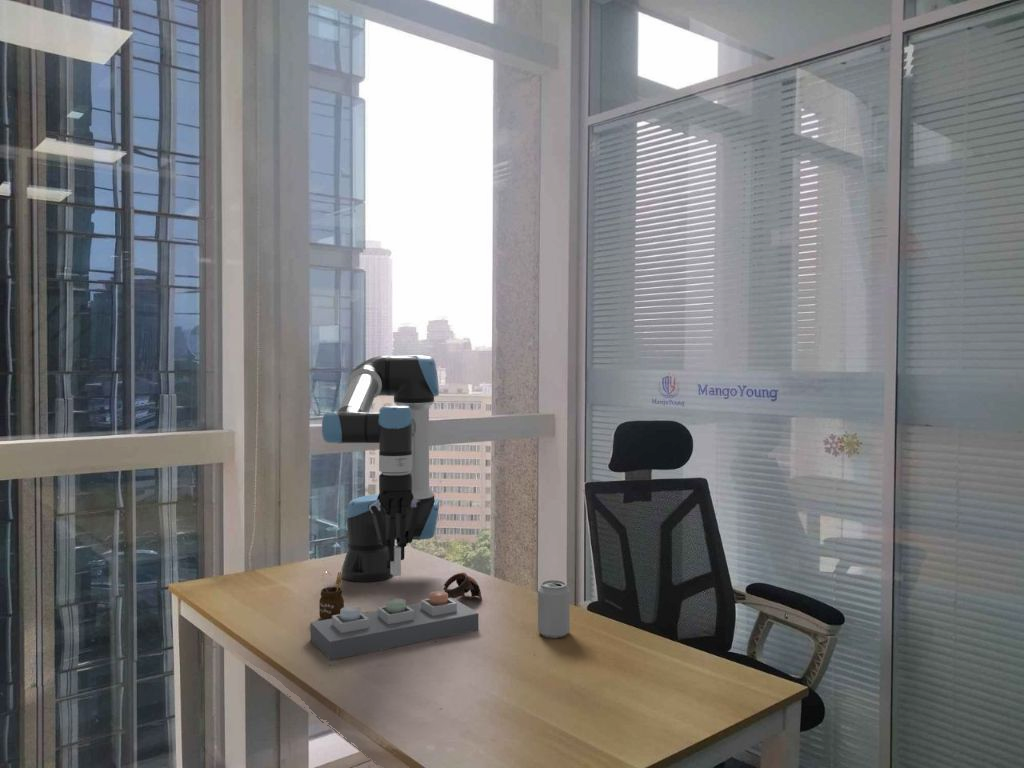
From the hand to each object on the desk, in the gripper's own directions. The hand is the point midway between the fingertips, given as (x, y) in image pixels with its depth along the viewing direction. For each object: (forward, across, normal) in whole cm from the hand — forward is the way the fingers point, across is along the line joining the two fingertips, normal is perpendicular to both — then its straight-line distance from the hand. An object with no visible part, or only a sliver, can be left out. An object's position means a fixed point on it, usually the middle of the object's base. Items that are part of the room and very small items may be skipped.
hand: (395, 574), depth 182 cm
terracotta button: (+8, +11, 0) cm, 14 cm away
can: (+15, +32, -18) cm, 39 cm away
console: (+14, 0, 0) cm, 14 cm away
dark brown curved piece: (+14, +26, +16) cm, 34 cm away
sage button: (+8, 0, 0) cm, 8 cm away
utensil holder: (+14, -9, +20) cm, 26 cm away
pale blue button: (+9, -11, 0) cm, 14 cm away
